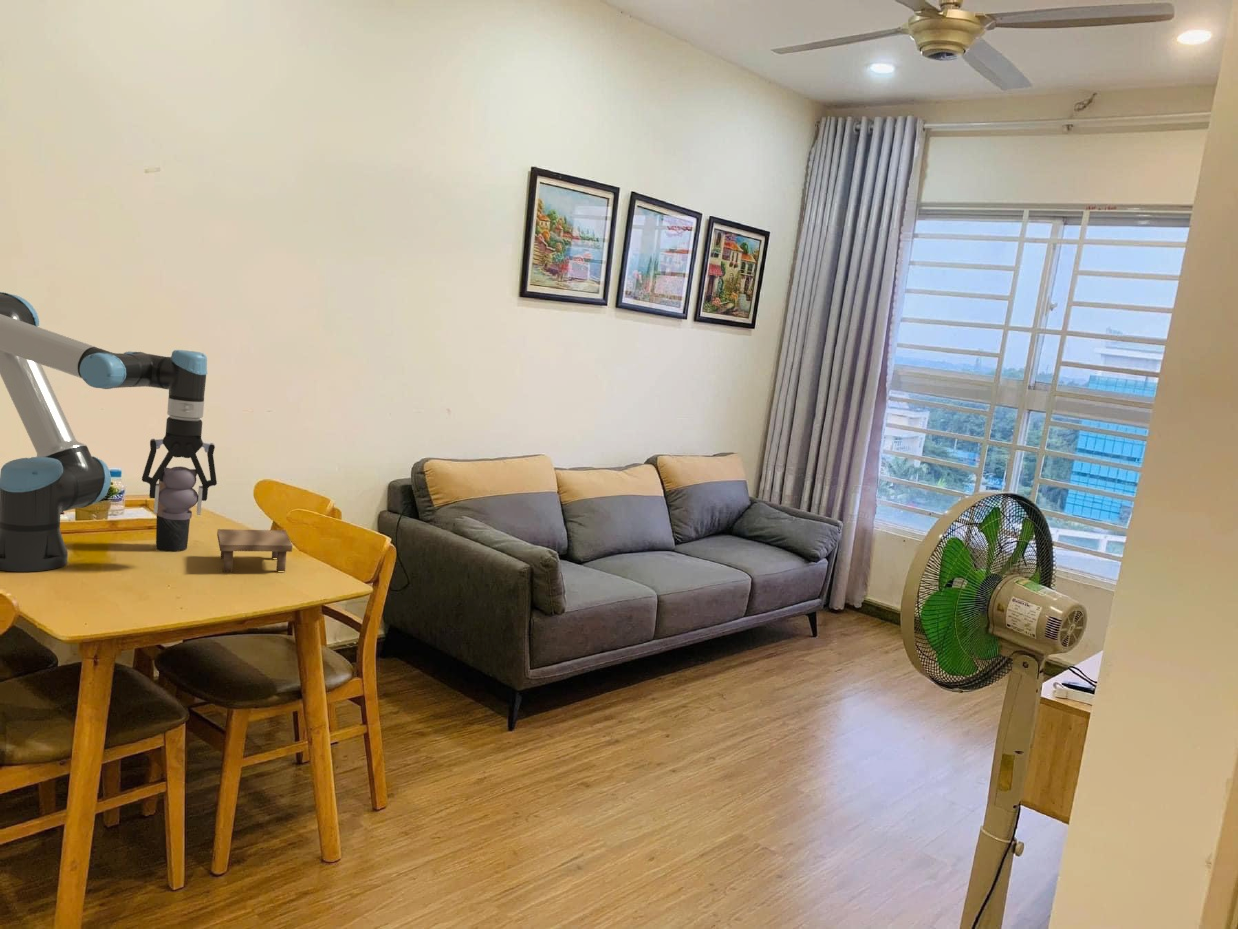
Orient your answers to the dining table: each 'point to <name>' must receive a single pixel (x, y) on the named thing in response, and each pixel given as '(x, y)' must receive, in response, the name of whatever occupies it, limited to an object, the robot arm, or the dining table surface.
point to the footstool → (253, 544)
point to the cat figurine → (178, 493)
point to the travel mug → (170, 529)
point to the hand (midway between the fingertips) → (177, 512)
